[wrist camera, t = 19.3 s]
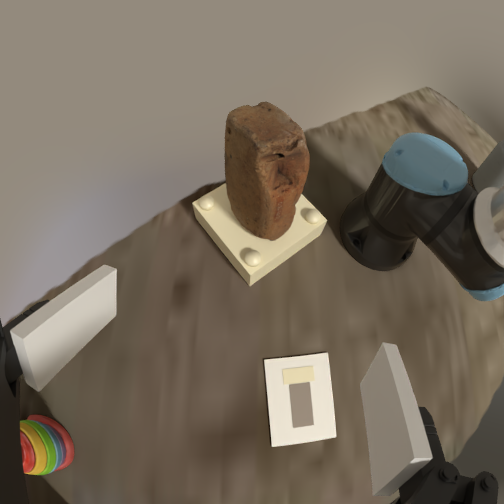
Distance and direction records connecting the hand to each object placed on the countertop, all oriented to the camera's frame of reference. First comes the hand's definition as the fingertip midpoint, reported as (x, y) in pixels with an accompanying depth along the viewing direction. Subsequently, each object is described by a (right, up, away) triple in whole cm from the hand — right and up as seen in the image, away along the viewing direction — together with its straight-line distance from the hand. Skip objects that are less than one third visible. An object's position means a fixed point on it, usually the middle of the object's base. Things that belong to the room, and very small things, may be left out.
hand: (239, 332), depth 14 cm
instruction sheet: (+8, -19, +29) cm, 35 cm away
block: (+2, +9, +36) cm, 37 cm away
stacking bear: (-34, -30, +23) cm, 50 cm away
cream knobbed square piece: (+2, +8, +41) cm, 42 cm away
